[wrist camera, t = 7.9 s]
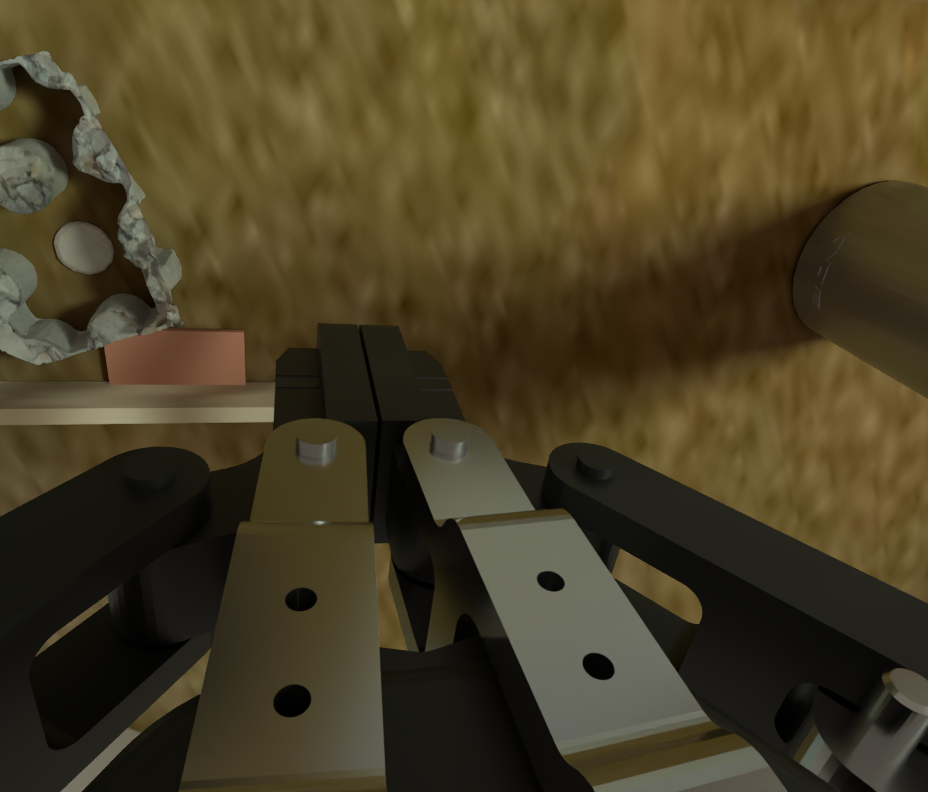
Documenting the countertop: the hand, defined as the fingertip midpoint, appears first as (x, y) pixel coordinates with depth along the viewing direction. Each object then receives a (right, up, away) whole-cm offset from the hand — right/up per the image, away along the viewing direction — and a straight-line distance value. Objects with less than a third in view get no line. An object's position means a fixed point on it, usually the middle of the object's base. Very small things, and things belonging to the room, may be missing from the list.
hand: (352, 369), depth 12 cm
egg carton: (-15, +7, +14) cm, 22 cm away
